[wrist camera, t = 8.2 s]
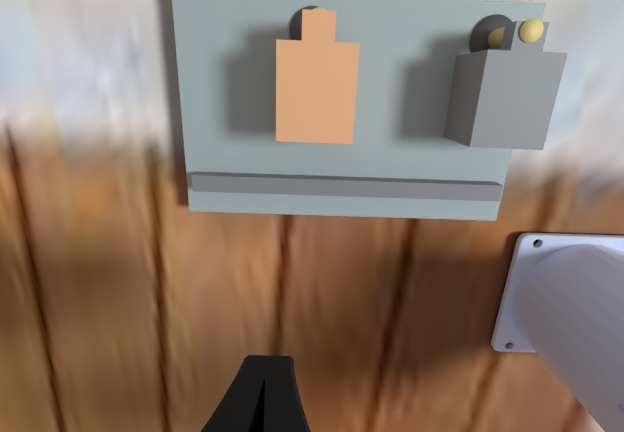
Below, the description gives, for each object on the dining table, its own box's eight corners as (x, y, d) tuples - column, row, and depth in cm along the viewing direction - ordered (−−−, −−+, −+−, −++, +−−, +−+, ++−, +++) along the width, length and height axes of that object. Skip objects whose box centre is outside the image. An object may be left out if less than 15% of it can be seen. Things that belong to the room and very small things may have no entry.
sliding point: (352, 22, 15) (362, 8, 12) (344, 134, 17) (352, 144, 14) (281, 19, 15) (276, 4, 12) (280, 131, 17) (275, 141, 14)
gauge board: (529, 9, 17) (598, -16, 13) (485, 212, 20) (529, 244, 16) (179, -7, 16) (138, -37, 12) (196, 203, 20) (168, 233, 16)
